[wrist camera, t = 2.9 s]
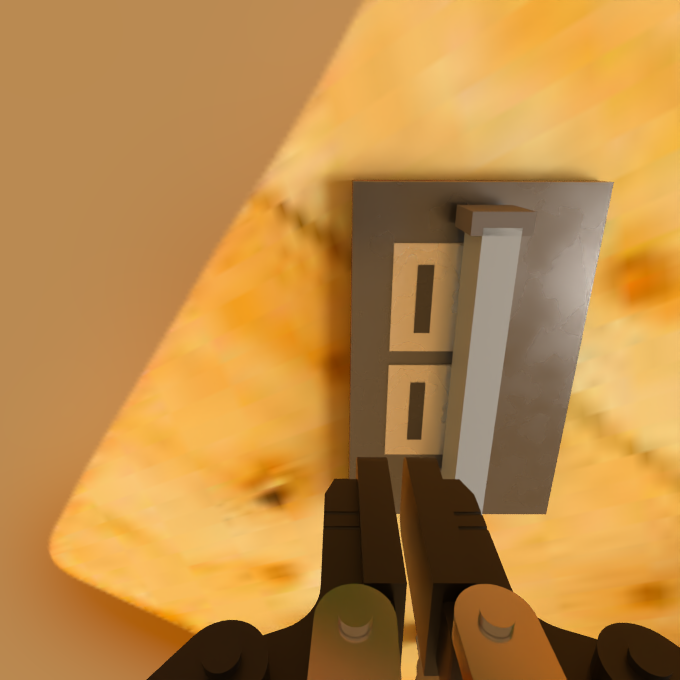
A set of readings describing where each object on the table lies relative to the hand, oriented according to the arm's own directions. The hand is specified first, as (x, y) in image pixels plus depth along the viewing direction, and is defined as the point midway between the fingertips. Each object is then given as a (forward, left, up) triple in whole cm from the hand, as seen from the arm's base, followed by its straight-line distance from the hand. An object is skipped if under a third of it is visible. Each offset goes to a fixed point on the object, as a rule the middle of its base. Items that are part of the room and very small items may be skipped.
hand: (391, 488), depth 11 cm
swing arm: (+6, +7, -19) cm, 21 cm away
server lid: (+6, +7, -21) cm, 23 cm away
